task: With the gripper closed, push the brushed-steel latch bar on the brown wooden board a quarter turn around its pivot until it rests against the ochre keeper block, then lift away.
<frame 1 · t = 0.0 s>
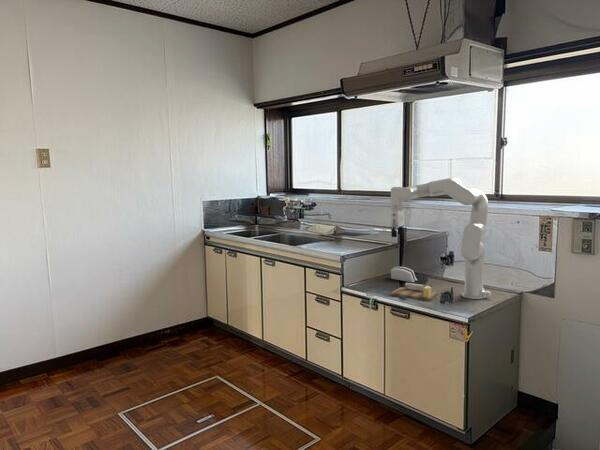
hand: (397, 235, 277), 31 cm above the counter, tool pointing down, fingers open, 9 cm apart
keeper block: (427, 298, 254), resting on brown wooden board
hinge: (403, 280, 294), on the counter
brown wooden board: (414, 295, 261), on the counter
latch bar: (417, 287, 265), point 3 cm above the counter, hinge at 0.0°
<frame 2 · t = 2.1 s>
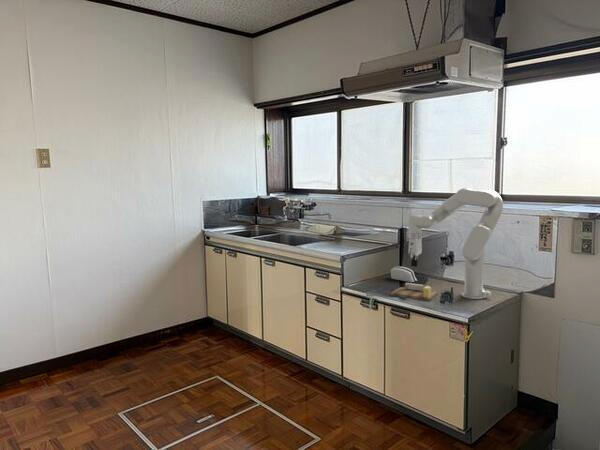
hand: (414, 266, 271), 14 cm above the counter, tool pointing down, fingers closed
nothing on the counter moved.
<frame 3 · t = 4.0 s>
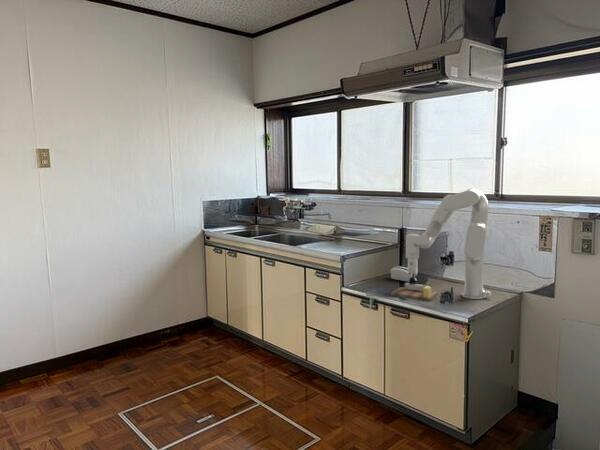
hand: (412, 285, 269), 3 cm above the counter, tool pointing down, fingers closed
latch bar: (417, 287, 265), point 3 cm above the counter, hinge at 2.4°, touching gripper
everything else where it was.
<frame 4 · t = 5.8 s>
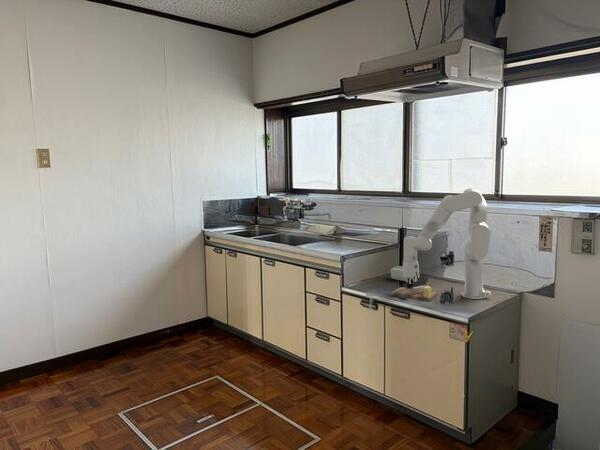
hand: (410, 289, 261), 3 cm above the counter, tool pointing down, fingers closed
latch bar: (418, 289, 260), point 3 cm above the counter, hinge at 58.9°, touching gripper
everything else where it was.
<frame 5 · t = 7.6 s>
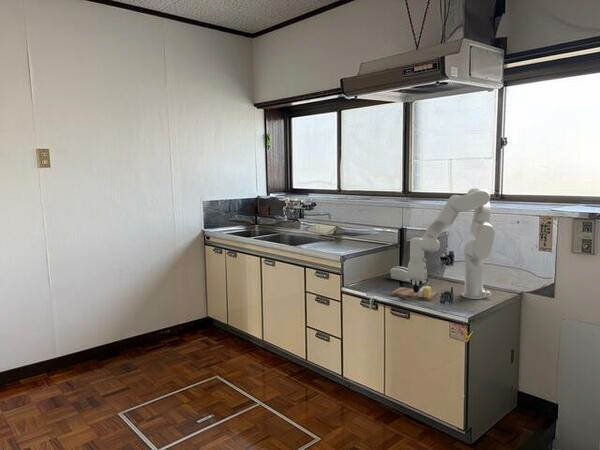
hand: (416, 291, 255), 4 cm above the counter, tool pointing down, fingers closed
latch bar: (423, 290, 257), point 3 cm above the counter, hinge at 94.6°, touching gripper, keeper block
everything else where it was.
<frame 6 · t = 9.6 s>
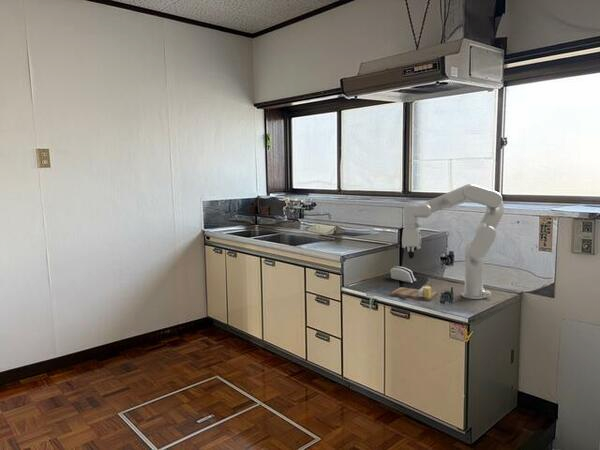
hand: (411, 258, 262), 21 cm above the counter, tool pointing down, fingers closed
latch bar: (423, 290, 257), point 3 cm above the counter, hinge at 94.5°
everything else where it was.
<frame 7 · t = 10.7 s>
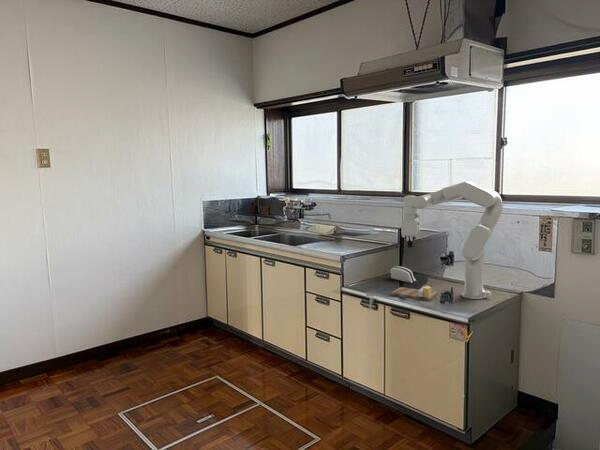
hand: (410, 247, 271), 25 cm above the counter, tool pointing down, fingers closed
nothing on the counter moved.
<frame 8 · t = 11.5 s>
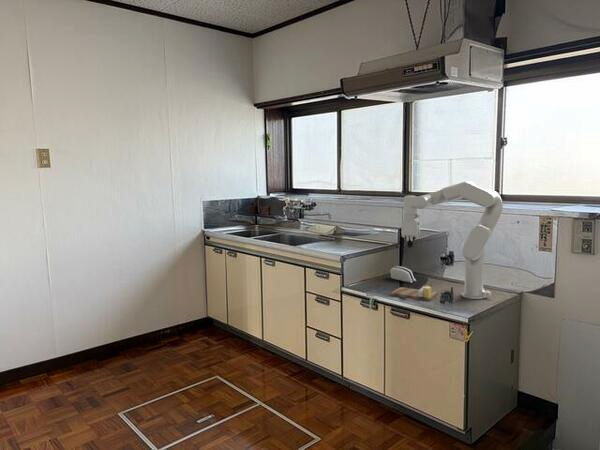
hand: (410, 247, 271), 25 cm above the counter, tool pointing down, fingers closed
nothing on the counter moved.
at the end: latch bar at +94° (first picture: +0°); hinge moved 0.7 cm from its start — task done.
